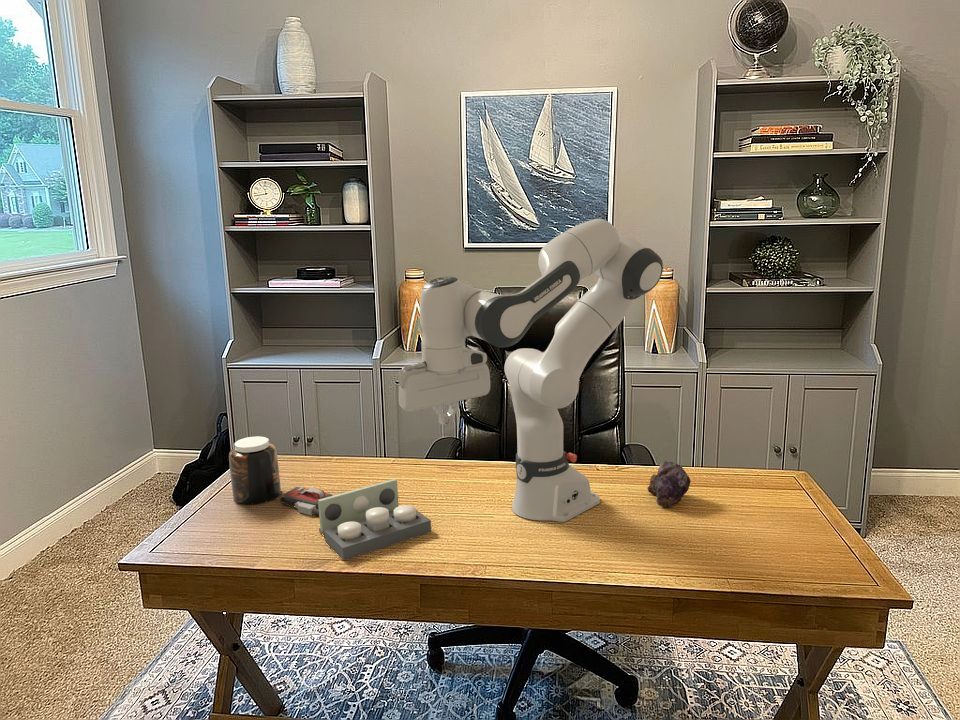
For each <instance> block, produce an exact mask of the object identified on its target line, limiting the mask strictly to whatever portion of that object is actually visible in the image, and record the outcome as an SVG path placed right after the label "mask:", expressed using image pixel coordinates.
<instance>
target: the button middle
mask: <svg viewBox="0 0 960 720" xmlns="http://www.w3.org/2000/svg"><path fill="white" fill-rule="evenodd" d="M366 522H367V528H368V529H369V530H371V531H372V532H373V533H374V532H377V531H380V530H383V529H386V528H389V510H388V509H386V508H383V507H376V508H371V509H369V510H367V511H366Z"/></svg>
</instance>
